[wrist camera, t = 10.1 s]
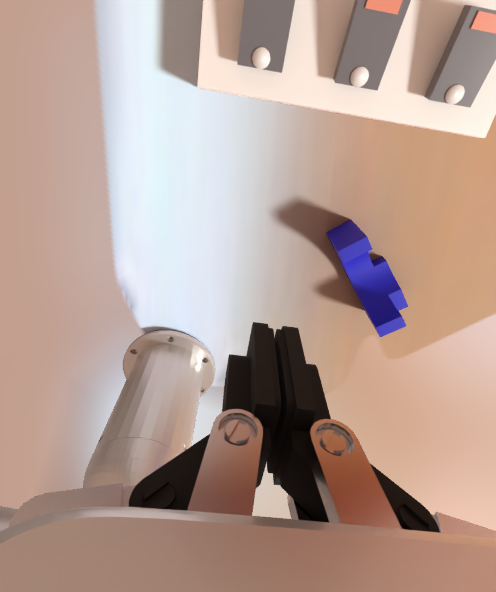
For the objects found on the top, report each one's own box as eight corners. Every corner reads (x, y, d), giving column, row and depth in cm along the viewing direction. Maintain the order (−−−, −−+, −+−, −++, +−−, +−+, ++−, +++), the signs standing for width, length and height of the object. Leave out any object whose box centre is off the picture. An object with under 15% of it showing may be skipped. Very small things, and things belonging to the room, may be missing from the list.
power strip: (510, 143, 34) (536, 147, 31) (202, 89, 32) (197, 87, 29) (570, 19, 29) (607, 8, 26) (213, -56, 27) (208, -77, 24)
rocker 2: (374, 86, 29) (377, 91, 28) (332, 78, 28) (334, 83, 27) (408, -8, 24) (413, -6, 23) (359, -18, 24) (363, -17, 23)
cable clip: (398, 294, 43) (419, 320, 37) (364, 309, 44) (380, 337, 38) (363, 212, 38) (381, 228, 32) (325, 232, 39) (338, 251, 33)
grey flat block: (463, 104, 29) (470, 108, 28) (424, 96, 29) (429, 100, 28) (510, 14, 25) (520, 15, 24) (464, 4, 25) (472, 5, 24)
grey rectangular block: (281, 70, 28) (282, 73, 27) (238, 62, 28) (237, 64, 27) (299, -29, 24) (300, -31, 23) (249, -40, 24) (248, -42, 23)
